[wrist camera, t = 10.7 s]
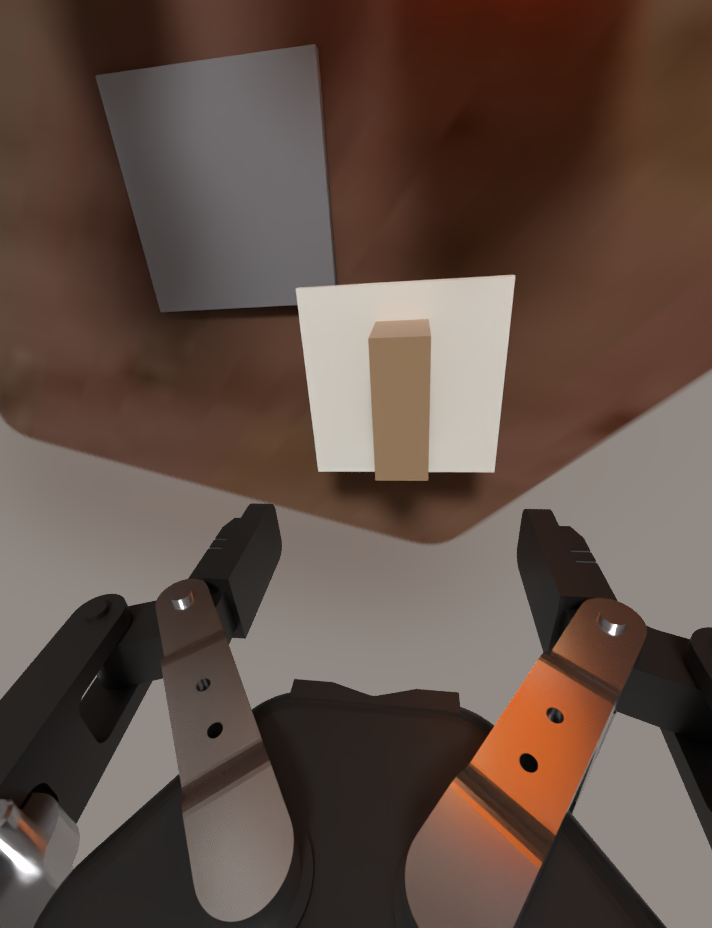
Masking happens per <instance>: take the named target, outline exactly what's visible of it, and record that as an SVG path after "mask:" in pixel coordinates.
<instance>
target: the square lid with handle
mask: <svg viewBox="0 0 712 928" xmlns="http://www.w3.org/2000/svg"><path fill="white" fill-rule="evenodd" d="M514 284H515V275H500V276H484V277H467V278H450V279H433V280H416V281H399V282H382V283H366V284H349V285H332V286H315V287H298V288H296V296H297V304H298V312H299V320H300V328H301V336H302V344H303V352H304V360H305V368H306V376H307V384H308V392H309V400H310V408H311V416H312V424H313V432H314V440H315V448H316V456H317V464H318V471H320V472H375V481H428V472H494V470H495V460H496V451H497V442H498V433H499V423H500V414H501V405H502V395H503V386H504V377H505V368H506V358H507V349H508V340H509V330H510V321H511V312H512V303H513V293H514Z"/></svg>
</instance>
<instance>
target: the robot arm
mask: <svg viewBox="0 0 712 928" xmlns="http://www.w3.org/2000/svg"><path fill="white" fill-rule="evenodd" d="M281 550H282V541H281V536H280V530H279V526H278V520H277V515H276V510H275V507H274V505H273V504H250V505H249V506H248V507H247V509H246V510H245V512H244V514H243V515H242V517H241V518H234V519H233V520H231V521H230V522H229V523H228V524H226V525H225V526H224V527H222V529H221V531H220V532H219V533H218V535H217V536H216V539H215V540H214V541H213V543H212V544H211V546H210V549H208V550H207V552H206V553H205V554H204V556H203V558H202V559H201V561H200V562H199V564H198V565H197V567H196V568H195V569H194V571H193V573H192V574H191V575H190V577H189V578H188V579H186V580H182V581H179V582H177V583H174V584H172V585H171V586H169V587H168V588H166V589H165V590H164V591H163V592H162V593H161V594H160V596H159V597H158V598H157V600H156V601H152V602H147V603H142V604H137V605H133V606H128V605H127V603H126V601H125V599H124V598H123V597H122V596H120V595H117V594H106V595H102V596H99V597H96V598H94V599H91V600H90V601H88V602H86V603H84V604H83V605H82V606H80V607H79V608H78V609H77V610H76V611H75V612H74V613H73V614H72V615H71V617H70V618H69V619H68V620H67V621H66V622H65V624H64V625H63V626H62V627H61V628H60V630H59V631H58V632H57V633H56V634H55V636H54V637H53V638H52V639H51V640H50V641H49V643H48V644H47V645H46V646H45V648H44V649H43V650H42V651H41V652H40V654H39V655H38V656H37V657H36V658H35V659H34V661H33V662H32V663H31V664H30V665H29V667H28V668H27V669H26V670H25V671H24V672H23V674H22V675H21V676H20V677H19V678H18V680H17V681H16V682H15V683H14V684H13V686H12V687H11V688H10V689H9V690H8V692H7V693H6V694H5V695H4V696H3V698H2V699H1V700H0V928H666V926H665V925H664V924H663V923H662V922H661V920H660V919H659V918H658V917H657V916H656V914H655V913H654V912H653V911H652V910H651V909H650V907H649V906H648V905H647V904H646V903H645V901H644V900H643V899H642V898H641V897H640V895H639V894H638V893H637V892H636V891H635V889H634V888H633V887H632V886H631V884H630V883H629V882H628V881H627V880H626V878H625V877H624V876H623V875H622V874H621V873H620V871H619V870H618V869H617V868H616V866H615V865H614V864H613V863H612V862H611V861H610V859H609V858H608V857H607V856H606V855H605V854H604V852H603V851H602V850H601V849H600V847H599V846H598V845H597V844H596V843H595V841H594V840H593V839H592V838H591V837H590V835H589V834H588V833H587V832H586V831H585V830H584V828H583V827H582V826H581V825H580V824H579V822H578V821H577V820H576V819H575V818H574V816H573V812H574V810H575V808H576V805H577V803H578V801H579V798H580V796H581V794H582V791H583V789H584V786H585V784H586V782H587V779H588V777H589V774H590V772H591V770H592V767H593V765H594V763H595V760H596V758H597V756H598V754H599V751H600V749H601V747H602V744H603V742H604V740H605V738H606V735H607V733H608V731H609V729H610V726H611V724H612V721H613V719H614V717H615V715H616V713H617V712H620V713H623V714H625V715H628V716H631V717H633V718H636V719H639V720H642V721H644V722H647V723H650V724H652V725H655V726H658V727H660V729H661V731H662V734H663V736H664V738H665V741H666V743H667V745H668V748H669V750H670V752H671V755H672V757H673V759H674V762H675V764H676V767H677V769H678V771H679V774H680V776H681V778H682V781H683V783H684V785H685V788H686V790H687V792H688V795H689V797H690V799H691V802H692V804H693V806H694V809H695V811H696V813H697V816H698V818H699V820H700V823H701V825H702V827H703V830H704V832H705V835H706V837H707V839H708V841H709V844H710V846H711V849H712V628H709V627H708V628H701V629H698V630H696V631H695V632H694V633H693V634H692V636H691V638H690V639H687V638H683V637H680V636H676V635H672V634H669V633H665V632H662V631H659V630H656V629H653V628H650V627H648V626H646V624H645V622H644V621H643V619H642V618H641V617H640V616H639V615H638V614H637V613H636V612H635V611H634V610H633V609H631V608H630V607H628V606H626V605H625V604H623V603H620V602H618V601H617V599H616V597H615V595H614V593H613V592H612V590H611V588H610V586H609V584H608V582H607V580H606V579H605V577H604V575H603V573H602V571H601V570H600V568H599V566H598V564H597V563H596V560H595V558H594V557H593V555H592V553H590V549H589V547H588V545H587V544H586V542H585V540H584V538H583V537H582V536H580V535H579V534H578V533H577V532H576V531H575V530H574V529H572V528H571V527H570V526H559V525H558V523H557V521H556V519H555V516H554V514H553V512H552V511H551V510H548V509H544V510H543V509H524V511H523V513H522V519H521V526H520V532H519V540H518V547H517V563H518V568H519V572H520V575H521V579H522V582H523V585H524V589H525V592H526V595H527V599H528V602H529V605H530V609H531V612H532V615H533V618H534V622H535V626H536V629H537V632H538V636H539V639H540V642H541V645H542V649H543V652H544V653H543V654H542V655H541V656H540V658H539V659H538V661H537V662H536V664H535V665H534V667H533V668H532V670H531V672H530V673H529V674H528V676H527V677H526V679H525V681H524V682H523V683H522V685H521V687H520V688H519V689H518V691H517V693H516V694H515V696H514V697H513V699H512V700H511V702H510V703H509V705H508V706H507V708H506V709H505V711H504V712H503V714H502V715H501V717H500V718H499V720H498V721H497V723H496V724H495V726H494V725H493V724H491V723H490V722H489V721H487V720H485V719H484V718H483V717H481V716H479V715H478V714H476V713H474V712H471V711H470V710H467V709H465V708H462V707H460V702H459V693H457V692H445V691H433V690H421V689H414V690H409V691H403V692H397V693H391V694H385V695H379V696H370V695H367V694H364V693H361V692H359V691H356V690H353V689H350V688H347V687H345V686H342V685H339V684H336V683H333V682H323V681H311V680H310V681H309V680H298V679H294V682H293V686H292V689H291V693H286V694H282V695H279V696H276V697H274V698H271V699H269V700H267V701H265V702H263V703H261V704H260V705H258V706H256V707H255V708H253V709H252V710H251V707H250V704H249V701H248V698H247V695H246V693H245V690H244V687H243V684H242V681H241V678H240V676H239V673H238V670H237V667H236V664H235V661H234V658H233V656H232V653H231V650H230V647H229V643H230V641H231V639H232V638H246V636H247V634H248V632H249V629H250V627H251V625H252V622H253V620H254V618H255V615H256V613H257V611H258V608H259V606H260V604H261V601H262V599H263V596H264V594H265V592H266V589H267V587H268V585H269V582H270V580H271V578H272V576H273V573H274V571H275V569H276V566H277V564H278V561H279V559H280V556H281ZM96 675H97V678H96V679H95V680H94V682H93V683H92V685H91V687H90V688H89V689H88V691H87V693H86V694H85V696H84V697H83V699H82V700H81V698H82V696H83V694H84V693H85V691H86V690H87V688H88V687H89V685H90V684H91V682H92V680H93V679H94V678H95V676H96ZM162 678H163V680H164V686H165V692H166V698H167V703H168V710H169V716H170V721H171V727H172V733H173V739H174V745H175V751H176V757H177V763H178V769H179V775H177V776H176V777H175V778H174V779H173V780H172V781H171V782H169V784H167V785H166V786H165V787H164V788H163V789H162V790H161V791H159V792H158V793H157V794H156V795H155V796H154V797H153V798H152V799H151V800H149V801H148V802H147V803H146V804H145V805H144V806H143V807H142V808H140V809H139V810H138V811H137V812H136V813H135V814H134V815H133V816H132V817H131V818H129V819H128V820H127V821H126V822H125V823H124V824H123V825H121V826H120V827H119V828H118V829H117V830H116V831H115V832H114V833H112V834H111V835H110V836H109V837H108V838H107V839H106V840H105V841H104V842H102V843H101V844H100V845H99V846H98V847H97V848H96V849H95V850H93V851H92V852H91V853H90V854H89V855H88V856H87V857H86V858H85V859H84V860H83V861H82V862H81V863H80V864H78V865H77V866H76V867H75V868H74V869H73V866H72V864H73V861H74V859H75V856H76V854H77V851H78V847H79V840H80V835H79V829H78V827H77V825H76V823H77V821H78V819H79V818H80V816H81V814H82V812H83V810H84V808H85V807H86V805H87V803H88V801H89V799H90V797H91V795H92V793H93V792H94V790H95V788H96V786H97V784H98V782H99V780H100V778H101V776H102V775H103V773H104V771H105V769H106V767H107V765H108V763H109V761H110V760H111V758H112V756H113V754H114V752H115V750H116V748H117V746H118V745H119V743H120V741H121V739H122V737H123V735H124V733H125V731H126V729H127V728H128V725H129V724H130V722H131V720H132V718H133V716H134V715H135V713H136V711H137V709H138V707H139V705H140V703H141V701H142V700H143V697H144V696H145V694H146V692H147V690H148V688H149V686H150V685H151V683H152V681H153V680H158V679H162ZM80 701H81V702H80ZM72 869H73V870H72Z"/></svg>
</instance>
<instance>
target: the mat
mask: <svg viewBox="0 0 712 928" xmlns="http://www.w3.org/2000/svg"><path fill="white" fill-rule="evenodd" d="M95 77H96V80H97V84H98V87H99V91H100V95H101V98H102V102H103V106H104V109H105V113H106V116H107V120H108V124H109V127H110V131H111V135H112V138H113V142H114V145H115V149H116V153H117V156H118V160H119V164H120V167H121V171H122V174H123V178H124V182H125V185H126V189H127V193H128V196H129V200H130V203H131V207H132V211H133V214H134V218H135V222H136V225H137V229H138V232H139V236H140V240H141V243H142V247H143V251H144V254H145V258H146V261H147V265H148V269H149V272H150V276H151V280H152V283H153V287H154V290H155V294H156V298H157V301H158V305H159V309H160V312H175V311H194V310H213V309H231V308H250V307H269V306H288V305H298V304H297V296H296V288H298V287H315V286H332V285H337V276H336V264H335V251H334V239H333V227H332V214H331V202H330V189H329V177H328V164H327V152H326V139H325V127H324V114H323V102H322V90H321V77H320V65H319V52H318V48H317V46H316V44H312V45H305V46H298V47H290V48H283V49H276V50H269V51H262V52H255V53H248V54H241V55H234V56H227V57H220V58H213V59H206V60H199V61H192V62H185V63H178V64H171V65H164V66H157V67H150V68H143V69H136V70H129V71H122V72H115V73H108V74H101V75H95Z"/></svg>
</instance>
